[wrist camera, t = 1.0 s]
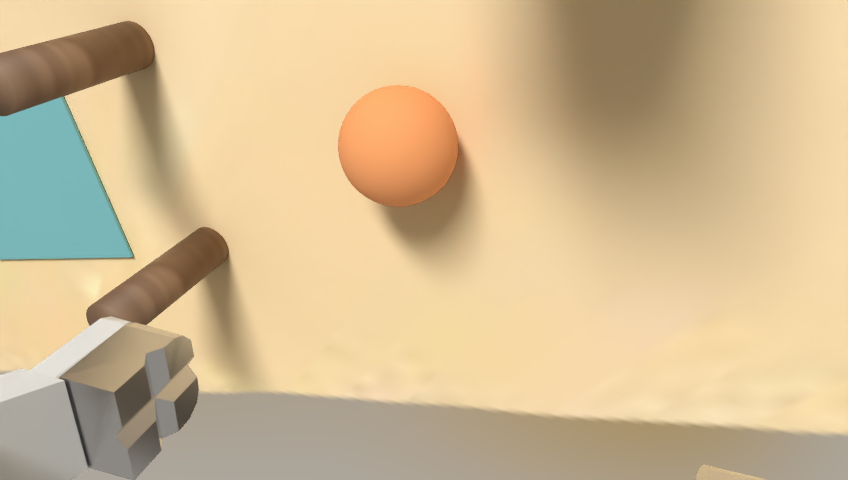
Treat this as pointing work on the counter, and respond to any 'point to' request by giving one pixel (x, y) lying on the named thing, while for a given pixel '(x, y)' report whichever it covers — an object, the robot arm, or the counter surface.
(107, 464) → the robot arm
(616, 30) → the counter surface
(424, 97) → the ball
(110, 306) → the post
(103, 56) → the post
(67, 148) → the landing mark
